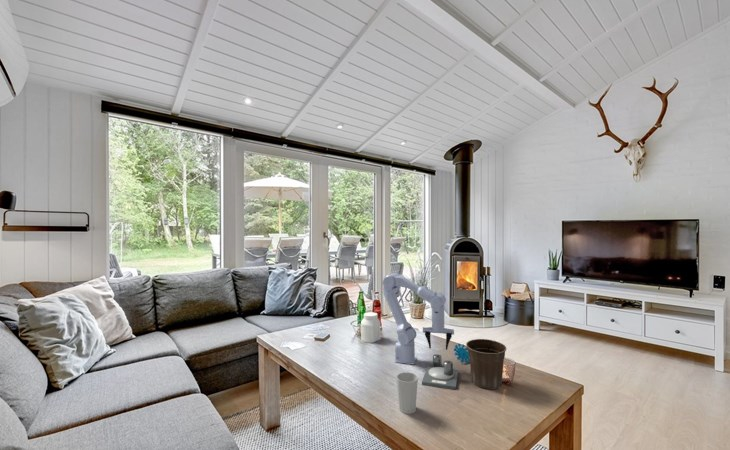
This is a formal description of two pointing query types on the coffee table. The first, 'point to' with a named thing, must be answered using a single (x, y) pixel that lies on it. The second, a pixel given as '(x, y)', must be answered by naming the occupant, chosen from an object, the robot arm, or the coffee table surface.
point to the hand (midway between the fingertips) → (438, 348)
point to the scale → (440, 378)
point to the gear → (462, 353)
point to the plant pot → (486, 362)
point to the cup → (407, 392)
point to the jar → (370, 328)
